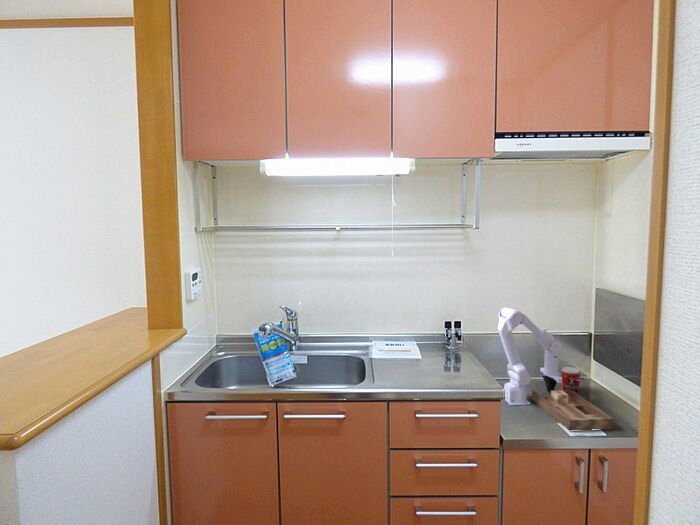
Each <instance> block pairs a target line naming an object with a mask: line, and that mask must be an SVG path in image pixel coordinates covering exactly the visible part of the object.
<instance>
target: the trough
mask: <svg viewBox="0 0 700 525" xmlns="http://www.w3.org/2000/svg"><path fill="white" fill-rule="evenodd" d="M567 394H568V404H556V403H555V402H554V401H552V400H551V394H539V393H538V392H537V391H535V390H531V400H532V402H534V403H535V404H536V405H537V406H538V407H539V408H541V409H542V410H543V411H545V413H546V414H548V415H549V416H550V417H552V418H553V420H555V419H556V420H557V421H556V420H555V421H556V422H557V423H559V424H560V423H561V424H562V425H563V426H562V425H561V424H560V425H561V426H562V427H564V426H565V427H566V428H567V429H568V430H570V431H571V430H592V429H612V430H614V425H615V424H614V423H615V422H614V419H615V418H614V417H612V416H611V415H609V414H608V413H606V412H605V411H603V410H602V409H600V408H598V406H596V405H594V404H593V403H592V402H590V401H588V400H587V399H585V398H583V396H581V395H579V393H578V394H576V393H575V392H573V391H572V390H570V389H567ZM565 427H564V428H565ZM566 428H565V429H566ZM567 429H566V430H567ZM568 430H567V431H568Z"/></svg>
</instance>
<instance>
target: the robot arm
mask: <svg viewBox="0 0 700 525" xmlns="http://www.w3.org/2000/svg"><path fill="white" fill-rule="evenodd" d="M498 318H499V319H498V323H497V324H498V327H497V332H498V334H499V338H500V340H501V342H502V343H501V344H502V346H503V350H504V353H505V355H506V359H507V362H508V364H507V365H506V366H507V376H508V377H509V382H505V383H504V386H503V391H504V390H505V399H504V401H506V403H508V404H509V405H510V406H526V405H527V406H528V405H531V402H530V401H529V400H528V384H530V382H531V380H532V379H531V378H532V377H531V375H530V373H529V372H528V371H527V368H526V367H525V365H524V364H523V363H522V361H521V357H520V353H519V350H518V347H517V345H516V342H515V338H514V336H513V333H512V332H513V331H514V330H515V329H516V328H517V327H518V326H519V325H522V326H524V327H525V328H527V330H529V331H530V332H531V333H532V337H533V339H535V340H536V341H537V342H538V343H539V344H541V345H542V348H544V363H543V364H544V366H543V367H540V373H542V374H543V376H542V379H543V381H544V383H545V386H546V390H547V391H546V392H547V393H549V394H551V391H555V388H556V385H557V384H561V383H562V377H561V373H560V372H559V355H560V352H561V350H562V348H563V346H562V344H561V341H559V340H557V339H555V338H554V335H552V334H549V332H548V329H547V328H545V327H538V326H537V325H536V324H535V323H534V322H533V321H532V320H531V319H530V318H529V317H528V316H527V315H526V314H524V313H522V311H520V310H517V309H514V308H511V307H509V306H503V307H502V308H501V310H500V311H499V312H498Z"/></svg>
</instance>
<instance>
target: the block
mask: <svg viewBox="0 0 700 525" xmlns="http://www.w3.org/2000/svg"><path fill="white" fill-rule="evenodd" d="M550 395H551V400H552V401H554V402H555V403H556V404H568V394H566V393H565V392H563V391H562V389H561V390H560V389H558V390H554V391H551V393H550Z"/></svg>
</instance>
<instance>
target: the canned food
mask: <svg viewBox="0 0 700 525" xmlns="http://www.w3.org/2000/svg"><path fill="white" fill-rule="evenodd" d="M580 374H581V371H580V369H578V368H575V367H572V366H571V367H570V366H564V367H562V368H561V379H562V383H560V384H561V386H560V387H561V388H560V389H561V390H562V391H563V392H565V393H567V389H570V390H572V391H573V392H575V393H576V394H578V395H579V393H580V382H581V380H580V379H581V378H580Z"/></svg>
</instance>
